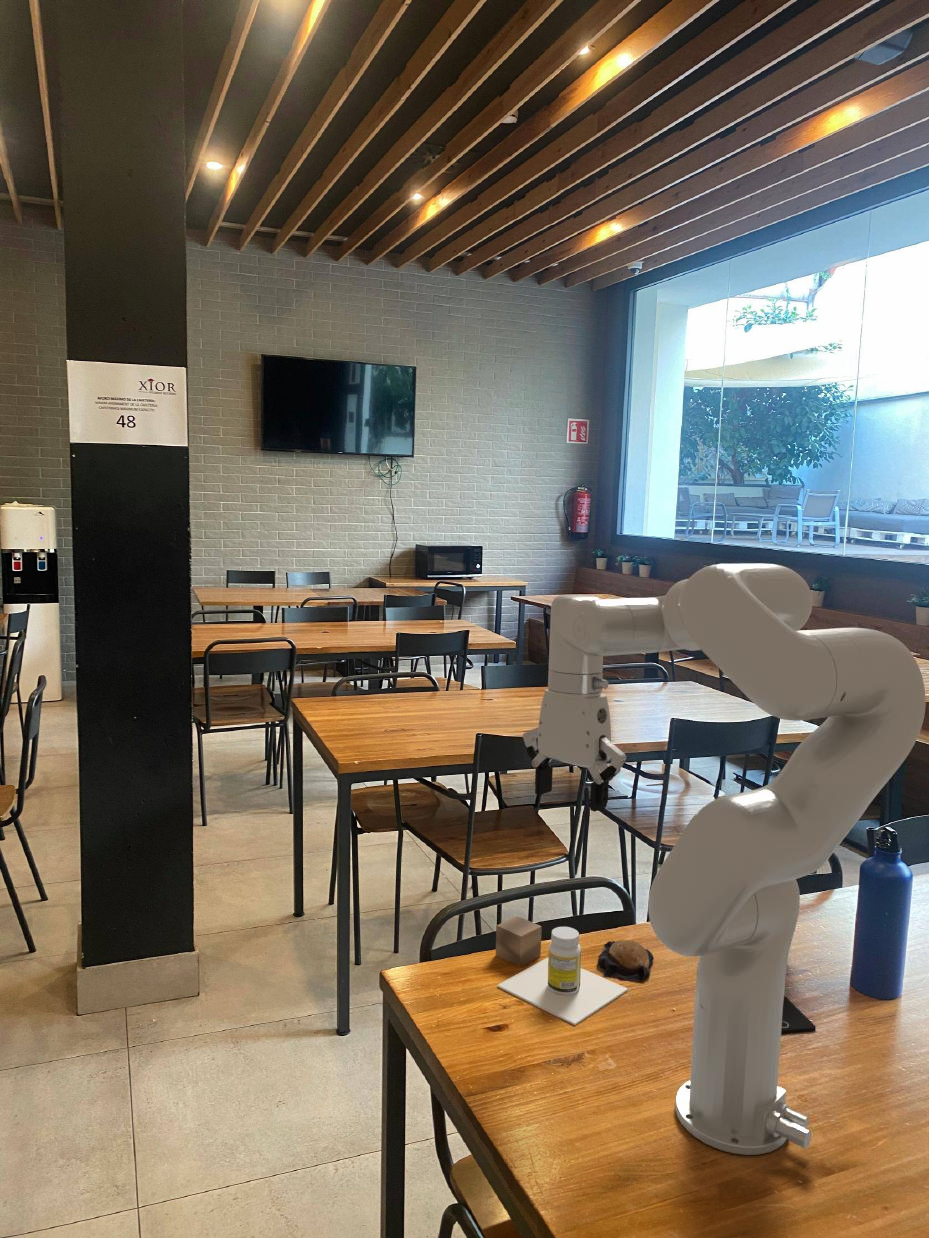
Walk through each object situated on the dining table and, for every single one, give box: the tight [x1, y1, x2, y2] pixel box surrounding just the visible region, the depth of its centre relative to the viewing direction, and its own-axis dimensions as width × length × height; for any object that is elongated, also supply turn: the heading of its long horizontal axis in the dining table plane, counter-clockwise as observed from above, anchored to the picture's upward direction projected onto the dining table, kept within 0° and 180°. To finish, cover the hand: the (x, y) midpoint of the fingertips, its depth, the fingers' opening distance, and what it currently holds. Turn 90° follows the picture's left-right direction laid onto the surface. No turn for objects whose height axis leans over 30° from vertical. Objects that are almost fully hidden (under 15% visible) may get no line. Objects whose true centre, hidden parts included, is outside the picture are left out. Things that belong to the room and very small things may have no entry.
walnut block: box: [495, 915, 543, 968], centre depth 139 cm, size 5×5×5 cm
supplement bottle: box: [547, 926, 582, 995], centre depth 129 cm, size 5×5×8 cm
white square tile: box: [496, 957, 629, 1026], centre depth 130 cm, size 14×13×1 cm
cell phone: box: [781, 994, 817, 1035], centre depth 129 cm, size 9×18×1 cm, turn 10°
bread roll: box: [596, 939, 655, 983], centre depth 138 cm, size 11×8×4 cm
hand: (570, 800), depth 127 cm, fingers open, 9 cm apart
